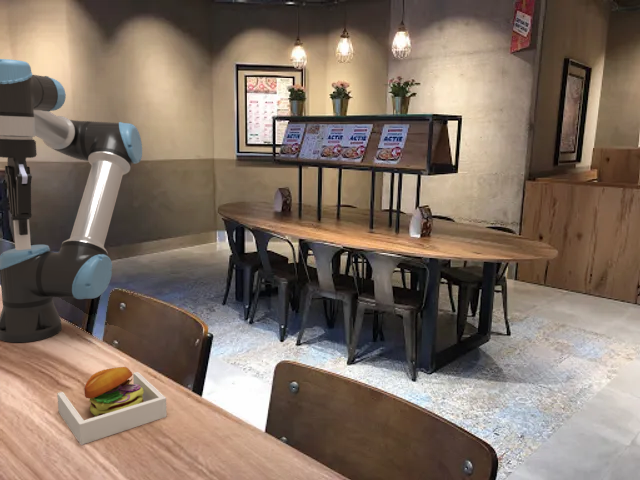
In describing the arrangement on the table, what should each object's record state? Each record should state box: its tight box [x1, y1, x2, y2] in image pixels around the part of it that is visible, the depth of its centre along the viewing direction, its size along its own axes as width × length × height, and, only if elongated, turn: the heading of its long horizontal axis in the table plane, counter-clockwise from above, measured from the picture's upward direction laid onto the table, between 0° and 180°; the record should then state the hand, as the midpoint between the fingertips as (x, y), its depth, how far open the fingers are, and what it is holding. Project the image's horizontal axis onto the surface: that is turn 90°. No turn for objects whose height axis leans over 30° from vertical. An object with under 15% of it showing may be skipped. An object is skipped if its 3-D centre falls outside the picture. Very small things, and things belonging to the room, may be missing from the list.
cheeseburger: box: [84, 366, 144, 417], centre depth 105 cm, size 10×11×10 cm
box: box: [57, 371, 167, 446], centre depth 104 cm, size 14×16×4 cm
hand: (23, 248), depth 115 cm, fingers closed
